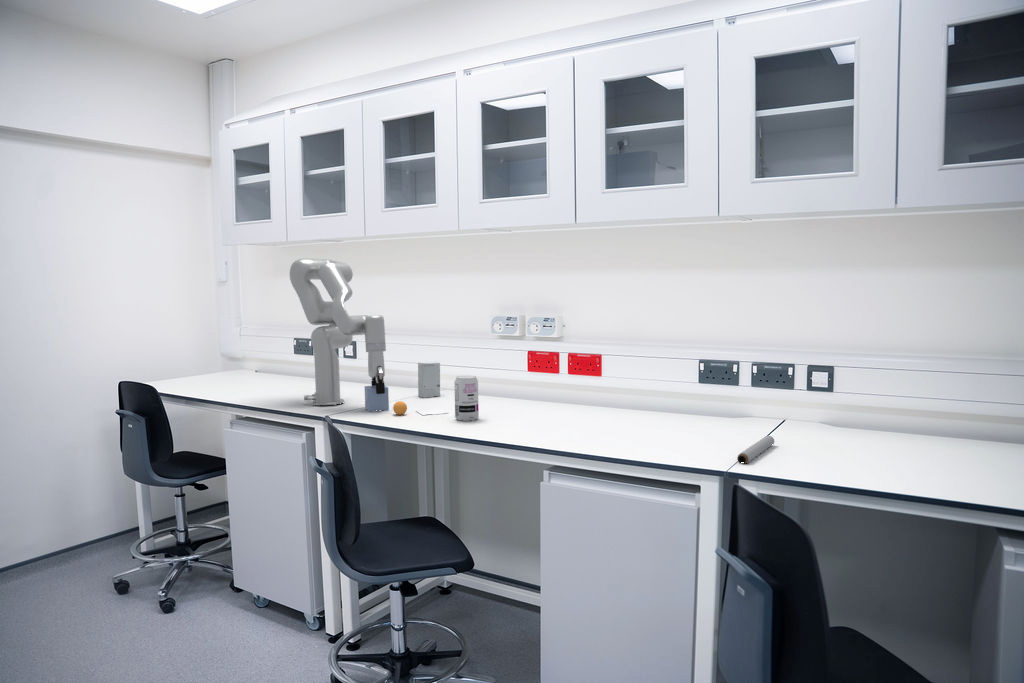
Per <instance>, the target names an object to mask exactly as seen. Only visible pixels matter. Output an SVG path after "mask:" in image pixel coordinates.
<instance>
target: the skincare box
mask: <svg viewBox="0 0 1024 683" xmlns="http://www.w3.org/2000/svg"><path fill="white" fill-rule="evenodd" d="M417 379H418V380H417V388H418V389H417V394H418V397H420V398H422V397H423V398H422V399H426V398H425V397H429V398H433V397H432V396H440V397H441V362H439V361H438V362H437V361H420V362H418V363H417Z"/></svg>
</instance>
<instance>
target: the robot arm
mask: <svg viewBox="0 0 1024 683" xmlns="http://www.w3.org/2000/svg"><path fill="white" fill-rule="evenodd" d="M353 276H354V274H353V269H352V267H351V266H350V265H349V264H348V263H346V262H342V261H337V260H332V259H326V258H325V259H324V258H307V257H306V258H299V259H297V260H294V261H293V263H292V264H290V268H289V280H290V283H291V286H292V287H293V289H294V291H295V293H296V295H297V297H298V299H299V302H300V305H301V307H302V309H303V312H304V315H305V318H306V320H307V321H308V323H309V324H310V325H313V326H317V327H316V328H315V329H313V331H312V333H311V336H310V340H311V346H312V350H313V356H314V360H313V361H314V377H315V378H314V380H315V392H314V393H313V394H311V395H308V394H307V395H305V394H304V395H303V400H304V401H311V403H312V406H315V405H333V406H336V405H335V404H340V403H343V402H344V403H345V399H343V398H341V380H340V358H339V355H338V353H337V351H336V350H335V349H343V348H344V349H345V348H347V347H349V346H350V345H351V344H352V342H353V337H354V336H363V335H364V339H365V340H364V343H365V352H366V353H367V368H368V370H367V371H368V372H367V374H368V375H367V376H368V377H370V378H371V386H375V385H376V394H384V393H385V386H386V385H385V379H384V377H385V375H386V374H385V372H386V371H385V356H384V352H386V351H387V345H386V329H385V328H386V327H385V318H384V316H382V315H378V314H377V315H376V314H375V315H374V314H373V315H366V314H364V315H360V314H359V315H349V313H348V311H347V310H346V307H345V304H344V303H346V302H348V301H349V300H350V299H351V297H352V296H353V290H352V288H351V287H350V284H349V283H350V282H351V281H352V279H353ZM311 280H316V281H317V280H320V282H321V283H322V285H323V286H324V288H325V289H326V292H327V293H328V296H329V297H330V298H331V300H332V301H331V300H329V301H328V300H327V301H325V300H324V299H323V297H322V294H321V292H320V290H319V288H318V287H317V286H316V285H315V284H314V283H313V282H312V281H311ZM344 403H343V404H344ZM340 405H341V404H340Z"/></svg>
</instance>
